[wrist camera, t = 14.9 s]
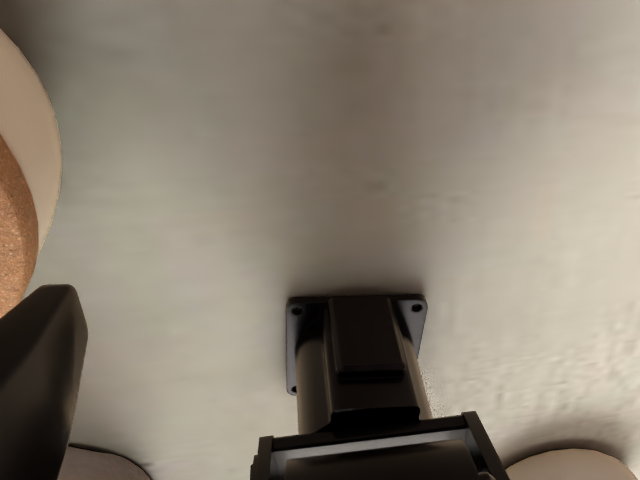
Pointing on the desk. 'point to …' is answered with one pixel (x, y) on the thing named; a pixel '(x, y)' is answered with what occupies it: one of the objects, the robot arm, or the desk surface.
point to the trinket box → (24, 171)
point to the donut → (570, 466)
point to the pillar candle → (98, 466)
